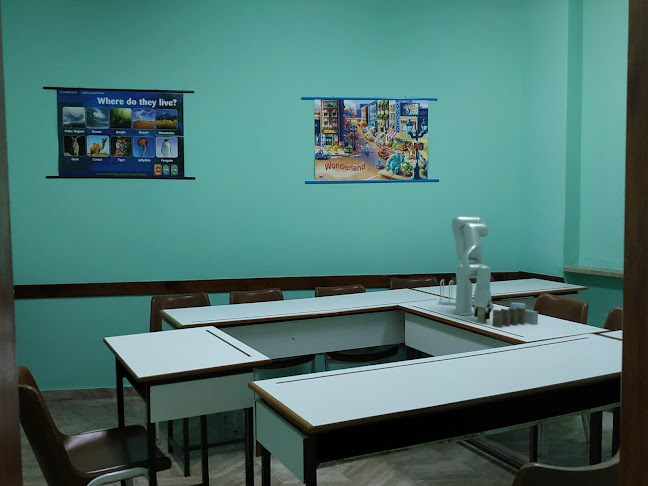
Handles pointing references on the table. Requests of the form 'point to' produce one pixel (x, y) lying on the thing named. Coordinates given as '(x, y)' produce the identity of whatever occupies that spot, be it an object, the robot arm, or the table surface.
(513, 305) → the medicine box
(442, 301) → the file sorter
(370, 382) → the table surface
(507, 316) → the domino
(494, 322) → the domino
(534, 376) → the table surface
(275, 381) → the table surface
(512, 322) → the domino
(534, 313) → the bookend block
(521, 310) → the domino
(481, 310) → the domino
